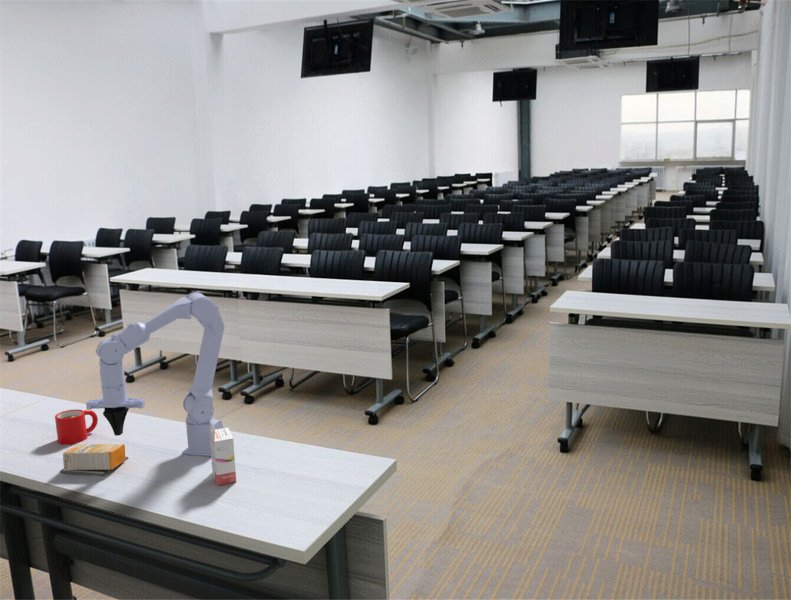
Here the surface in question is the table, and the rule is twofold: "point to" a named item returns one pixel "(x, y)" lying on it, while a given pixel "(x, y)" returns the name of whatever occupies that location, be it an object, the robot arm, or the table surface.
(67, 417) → the mug
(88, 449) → the supplement box
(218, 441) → the ink cartridge box
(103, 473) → the mat
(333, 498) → the table surface
